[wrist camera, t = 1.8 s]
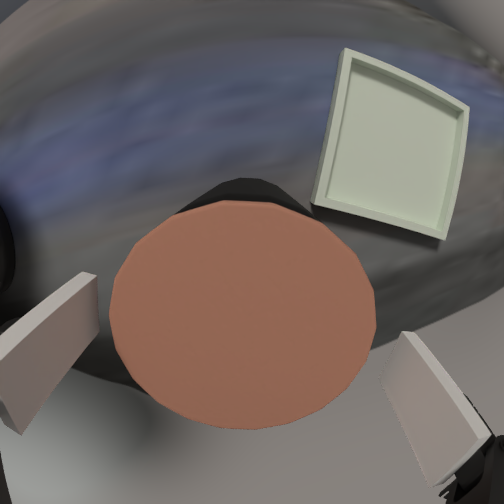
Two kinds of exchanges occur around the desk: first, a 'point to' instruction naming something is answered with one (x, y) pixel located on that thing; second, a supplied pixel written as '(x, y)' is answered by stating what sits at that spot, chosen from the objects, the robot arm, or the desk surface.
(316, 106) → the desk surface
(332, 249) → the coffee jar
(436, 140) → the sage tray
